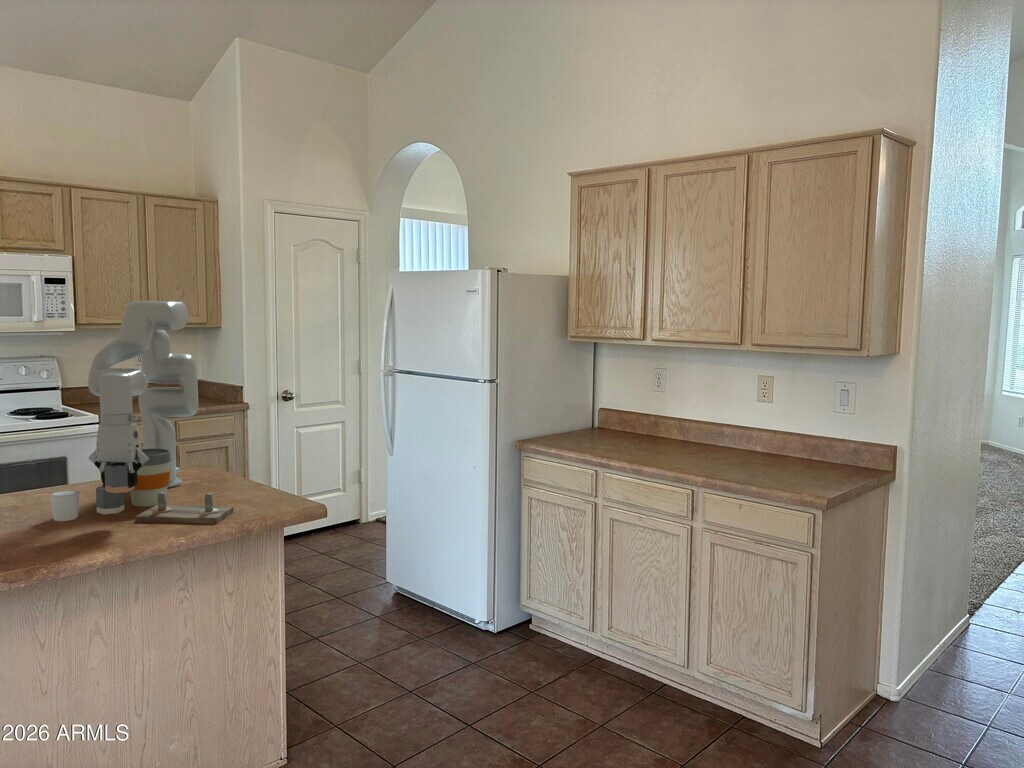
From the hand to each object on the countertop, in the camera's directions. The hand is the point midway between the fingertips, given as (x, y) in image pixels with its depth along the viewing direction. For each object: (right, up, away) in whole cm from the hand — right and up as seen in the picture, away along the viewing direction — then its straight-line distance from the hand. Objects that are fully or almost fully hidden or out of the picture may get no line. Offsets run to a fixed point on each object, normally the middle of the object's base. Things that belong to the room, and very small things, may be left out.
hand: (119, 485), depth 203 cm
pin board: (+14, -10, +8) cm, 19 cm away
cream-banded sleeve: (-9, -9, +12) cm, 17 cm away
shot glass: (-17, -10, +4) cm, 20 cm away
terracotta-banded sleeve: (0, -1, 0) cm, 1 cm away
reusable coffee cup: (-3, -8, +22) cm, 24 cm away
